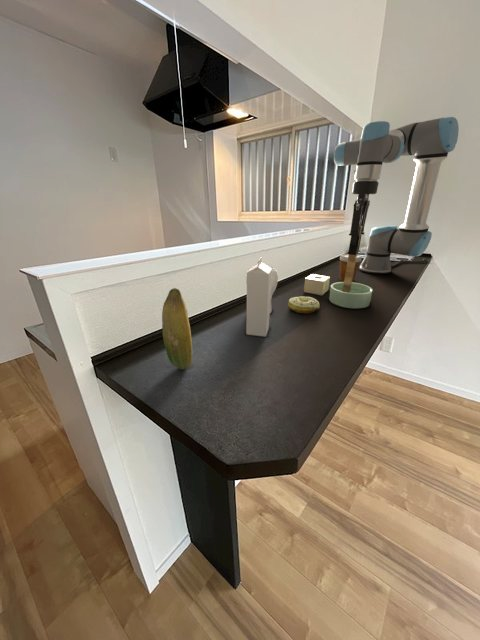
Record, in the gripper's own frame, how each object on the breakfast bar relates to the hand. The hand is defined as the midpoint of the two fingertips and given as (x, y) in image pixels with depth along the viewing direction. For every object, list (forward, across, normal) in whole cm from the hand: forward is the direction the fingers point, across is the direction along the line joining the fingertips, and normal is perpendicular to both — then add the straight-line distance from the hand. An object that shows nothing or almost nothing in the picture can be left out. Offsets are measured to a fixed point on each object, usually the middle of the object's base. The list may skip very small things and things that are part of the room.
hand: (353, 253), depth 96 cm
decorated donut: (+18, +18, -10) cm, 27 cm away
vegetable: (+19, +68, -20) cm, 74 cm away
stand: (+18, -4, -13) cm, 23 cm away
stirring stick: (+15, 0, 0) cm, 15 cm away
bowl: (+18, +2, +2) cm, 18 cm away
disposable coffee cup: (+18, -28, -6) cm, 34 cm away
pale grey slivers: (+18, +27, -22) cm, 40 cm away
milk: (+18, +42, -15) cm, 48 cm away
